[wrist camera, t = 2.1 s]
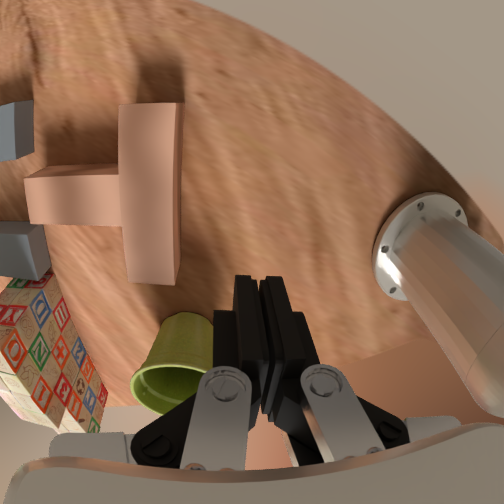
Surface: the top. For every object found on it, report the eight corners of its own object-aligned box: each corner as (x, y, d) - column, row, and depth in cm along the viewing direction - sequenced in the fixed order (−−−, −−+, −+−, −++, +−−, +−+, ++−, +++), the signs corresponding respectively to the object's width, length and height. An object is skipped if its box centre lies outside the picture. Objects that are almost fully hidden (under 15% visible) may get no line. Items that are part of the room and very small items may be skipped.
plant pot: (220, 366, 34) (221, 426, 27) (144, 350, 33) (130, 410, 25) (241, 309, 30) (246, 375, 23) (150, 289, 29) (130, 353, 21)
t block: (184, 102, 21) (176, 102, 17) (181, 260, 27) (174, 285, 24) (45, 113, 19) (20, 118, 16) (60, 253, 26) (42, 274, 22)
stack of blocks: (110, 393, 37) (92, 463, 26) (75, 388, 37) (54, 453, 26) (54, 271, 27) (-2, 351, 16) (16, 272, 27) (-40, 342, 16)
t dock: (33, 99, 18) (14, 102, 16) (51, 265, 26) (38, 280, 24) (-14, 111, 18) (-33, 116, 15) (7, 261, 26) (-6, 274, 23)
